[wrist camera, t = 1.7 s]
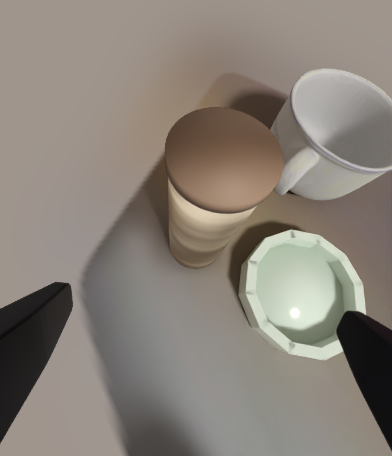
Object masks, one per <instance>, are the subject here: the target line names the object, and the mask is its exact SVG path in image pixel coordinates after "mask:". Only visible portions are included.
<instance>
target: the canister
mask: <svg viewBox="0 0 392 456" xmlns="http://www.w3.org/2000/svg"><path fill="white" fill-rule="evenodd" d="M165 164H166V171H167V175H168V201H169V246H170V251H171V253H172V255H173V257H174V258H175V260H176V261H177V262H179V263H180V264H181V265H183V266H185V267H188V268H193V269H199V268H204V267H206V266H208V265H210V264H211V263H212V262H214V260H215V259H216V258H217V257H218V255H219V254H220V253H221V252H222V250H223V249H224V248H225V246H226V245H227V244H228V243H229V241H230V240H231V239H232V237H233V236H234V235H235V234H236V232H237V231H238V230H239V228H240V227H241V226H242V225H243V223H244V222H245V221H246V220H247V218H248V217H249V216H250V214H251V213H252V212H253V211H254V209H255V208H256V207H257V205H259V204H260V203H261V202H263V201H264V200H265V199H266V198H267V196H268V195H269V194H270V193H271V191H272V190H273V189H274V188H275V186H276V185H277V183H278V182H279V180H280V178H281V176H282V172H283V166H284V159H283V153H282V150H281V147H280V144H279V142H278V141H277V139H276V137H275V136H274V134H273V133H272V132H271V131H270V130H269V129H268V128H267V127H266V126H265V125H264V124H263V123H261V122H260V121H259V120H257V119H256V118H254V117H252V116H250V115H248V114H246V113H243V112H241V111H238V110H234V109H229V108H221V107H211V108H203V109H199V110H196V111H193V112H191V113H189V114H187V115H185V116H183V117H182V118H181V119H179V120H178V121H177V122H176V123H175V124H174V126H173V127H172V128H171V130H170V132H169V133H168V136H167V139H166V143H165Z"/></svg>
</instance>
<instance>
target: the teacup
mask: <svg viewBox="0 0 392 456" xmlns="http://www.w3.org/2000/svg"><path fill="white" fill-rule="evenodd" d="M270 131H271V132H272V133H273V134H274V136H275V137H276V139H277V141H278V142H279V144H280V147H281V150H282V153H283V159H284V166H283V172H282V176H281V178H280V180H279V182H278V183H277V185H276V186H275V188H274V189H273V190H274V191H275V192H276V193H278V194H280V195H284V194H285V193H286V192H287V191H288V190H290V191H291V192H293V193H295V194H297V195H299V196H301V197H304V198H307V199H312V200H330V199H334V198H338V197H341V196H343V195H346V194H348V193H350V192H352V191H354V190H356V189H358V188H359V187H361V186H363V185H365V184H367V183H368V182H370V181H372V180H373V179H375V178H377V177H378V176H380V175H382V174H383V173H385V172H387V171H390V170H392V99H391V98H389V97H388V95H387V94H386V93H385V92H384V91H383V90H382V89H380V88H378V87H377V86H375V85H374V84H373V83H371V82H370V81H368V80H366V79H364V78H362V77H360V76H358V75H355V74H352V73H349V72H346V71H342V70H337V69H327V68H326V69H318V70H312V71H310V72H307V73H305V74H303V75H302V76H301V77H300V78H299V79H298V80H297V81H296V83H295V84H294V86H293V88H292V90H291V93H290V95H289V97H288V99H287V100H286V102H285V104H284V105H283V107H282V109H281V110H280V112H279V114H278V116H277V117H276V119H275V121H274V123H273V125H272V127H271V129H270Z"/></svg>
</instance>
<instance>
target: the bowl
mask: <svg viewBox="0 0 392 456" xmlns="http://www.w3.org/2000/svg"><path fill="white" fill-rule="evenodd" d="M238 296H239V298H240V300H241V303H242V305H243V308H244V310H245V313H246V315H247V318H248V320H249V323H250V325H251V328H253V329H254V330H255V331H256V332H258V333H259V334H260V335H261V336H262V337H263V338H264V339H266V340H267V341H268V342H269V343H270V344H271V345H272V346H274V347H275V348H276V349H277V350H278V351H281V352H285V353H288V354H294V355H299V356H304V357H309V358H315V359H320V360H323V361H324V360H326V359H328V358H330V357H332V356H334V355H336V354H338V353H340V352H342V351H343V349H342V347H341V344H340V342H339V339H338V337H337V334H336V328H337V326H338V324H339V322H340V320H341V318H342V316H343V314H344V313H345V312H346V311H348V310H351V311H359V312H362V313H364V314H365V315H366V309H365V300H364V291H363V283H362V282H361V280H360V278H359V277H358V275H357V273H356V272H355V270H354V268H353V267H352V265H351V263H350V261H349V260H348V258H347V256H346V255H345V254H344V253H343V252H341V251H340V250H339V249H337V248H336V247H335V246H333V245H332V244H331V243H329V242H328V241H327V240H325V239H324V238H323V237H321V236H320V235H315V234H311V233H306V232H301V231H296V230H292V229H290V230H288V231H285V232H282V233H279V234H276V235H273V236H270V237H267V238H265V239H263V240H262V241H261V242H260V243H259V244H257V246H256V247H255V248H254V250H253V251H252V252H251V254H250V255H249V256H248V258H247V259H246V260H245V261H244V263H243V264H242V265H241V275H240V284H239V294H238Z"/></svg>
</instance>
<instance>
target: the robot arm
mask: <svg viewBox="0 0 392 456" xmlns="http://www.w3.org/2000/svg"><path fill="white" fill-rule="evenodd" d="M72 307H73V301H72V291H71V286H70V284H69V283H62V282H55V283H52V284H50V285H48V286H46V287H44V288H42V289H40V290H38V291H36V292H34V293H32V294H30V295H28V296H26V297H23V298H21V299H20V300H17V301H15V302H13V303H11V304H9V305H7V306H5V307H3V308H1V309H0V443H1V441H2V440H3V438H4V436H5V435H6V433H7V431H8V429H9V427H10V426H11V424H12V423H13V421H14V419H15V417H16V415H17V414H18V412H19V411H20V409H21V407H22V405H23V404H24V402H25V400H26V399H27V397H28V395H29V393H30V392H31V390H32V388H33V386H34V385H35V383H36V382H37V380H38V378H39V376H40V375H41V373H42V371H43V369H44V368H45V366H46V364H47V362H48V360H49V358H50V356H51V354H52V352H53V350H54V348H55V346H56V344H57V342H58V339H59V337H60V335H61V333H62V331H63V328H64V326H65V324H66V322H67V320H68V318H69V315H70V313H71V311H72ZM336 334H337V337H338V339H339V342H340V344H341V347H342V349H343V351H344V354H345V356H346V359H347V361H348V363H349V366H350V368H351V371H352V373H353V375H354V378H355V380H356V382H357V384H358V386H359V388H360V390H361V393H362V394H363V396H364V398H365V400H366V402H367V404H368V406H369V408H370V410H371V412H372V414H373V416H374V418H375V420H376V422H377V424H378V425H379V427H380V429H381V431H382V433H383V435H384V437H385V439H386V441H387V443H388V445H389V447H390V449H391V451H392V330H391V329H389V328H387V327H386V326H384V325H382V324H380V323H379V322H377V321H375V320H374V319H372V318H370V317H369V316H367V315H365V314H364V313H362V312H359V311H351V310H348V311H346V312H345V313H344V314H343V316H342V318H341V320H340V322H339V324H338V326H337V328H336Z"/></svg>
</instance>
